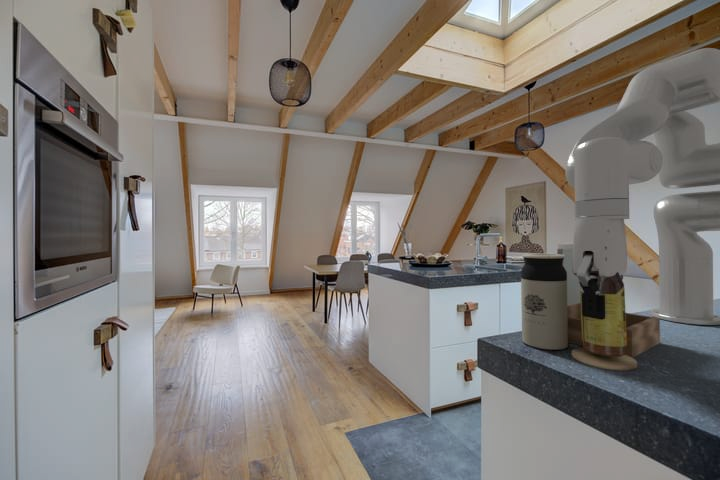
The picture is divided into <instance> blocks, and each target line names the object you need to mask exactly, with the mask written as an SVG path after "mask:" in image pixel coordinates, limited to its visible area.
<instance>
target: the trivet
mask: <svg viewBox="0 0 720 480" xmlns="http://www.w3.org/2000/svg"><path fill="white" fill-rule="evenodd" d="M571 357H572V358H573V359H574V360H576V361H577V362H580V363H582V364H585V365H586V366H587V365H588V366H590V367H594V368H599V369H602V370H610V371H620V372H621V371H622V372H623V371H624V372H625V371H626V372H627V371H633V370H635V369H637V368H638V361H637V360H636V359H635V358H634V357H633V358H632V357H630V356H628V355H623V356H620V357H610V356H602V355H597V354H593V353H591V352H589V351H587V350H585V348H584V347H575V348H574V349H572V350H571Z"/></svg>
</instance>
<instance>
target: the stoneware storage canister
mask: <svg viewBox="0 0 720 480" xmlns="http://www.w3.org/2000/svg"><path fill="white" fill-rule="evenodd" d="M521 257H522V258H523V262H524V265H523V266H522V268H521V269H520V270H521V271H520V278H521V279H520V287H521V288H520V290H521V292H520V293H521V341H522V342H523V343H524V344H526V345H528V346H529V347H533V348H535V349H540V350H544V351H545V350H546V351H547V350H548V351H561V350H564V349H566V348H568V347H569V342H568V313H567V271H566V270H565V268H564V266H563V265H562V264H563V259H564V258H565V255H561V254H557V253H524V254H522V255H521Z"/></svg>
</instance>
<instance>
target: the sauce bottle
mask: <svg viewBox="0 0 720 480" xmlns="http://www.w3.org/2000/svg"><path fill="white" fill-rule="evenodd" d="M590 275H595V276H599V275H598V274H597V273H590ZM594 282H595V284H596V286H597V281H594ZM625 294H626V293H625V283H624V281H623V279H621V277H620V274H619V273H618V272H617V273H616V275H614V276H611V277H608V278H605V280H604V286H603V292H602V295H605V319H603V320H601V319H595V318H589V317H584V316H583V315H582V293H581V291H580V303H581V326H582V340H583V346H582V347H583V348H585V350H587V351H589V352H591V353H593V354H597V355H602V356H610V357H620V356H623V355H625V353H626V345H627V334H626V313H627V312H626V310H627V309H626V295H625Z"/></svg>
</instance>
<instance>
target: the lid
mask: <svg viewBox="0 0 720 480" xmlns="http://www.w3.org/2000/svg"><path fill="white" fill-rule="evenodd" d="M556 252H557V253H556V254H561V255H565V258H564V259H563V264H562V265H563V266H564V268H565V270H566V271H567V306H570V305H574V304H578V303H580V291H581V286H580V284H579V282H580V281H579V279H578V278H577V276H575V275H574V274H573V271H572V262H573V242H572V243H558V244H557V251H556Z"/></svg>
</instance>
